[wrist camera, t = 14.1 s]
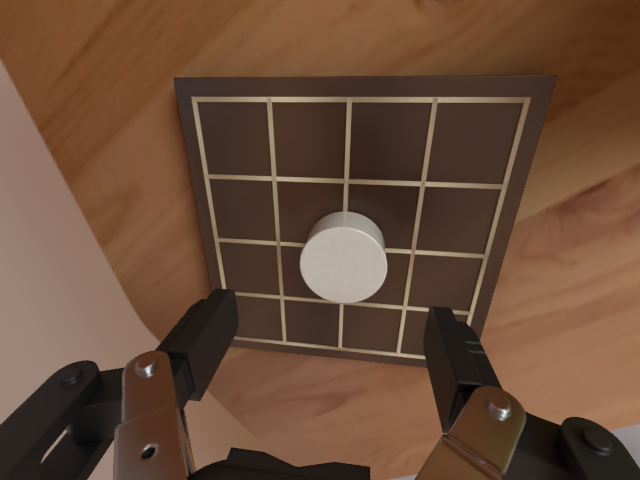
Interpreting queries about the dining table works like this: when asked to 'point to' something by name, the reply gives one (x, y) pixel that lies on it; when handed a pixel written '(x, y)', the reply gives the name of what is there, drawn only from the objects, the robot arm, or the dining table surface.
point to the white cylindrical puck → (344, 258)
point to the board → (359, 197)
